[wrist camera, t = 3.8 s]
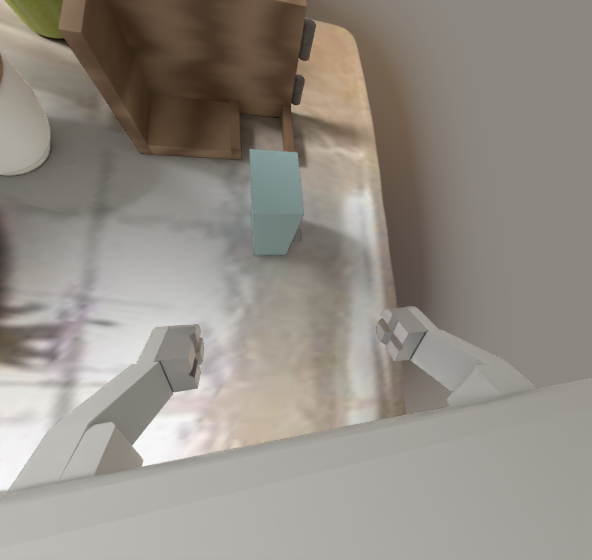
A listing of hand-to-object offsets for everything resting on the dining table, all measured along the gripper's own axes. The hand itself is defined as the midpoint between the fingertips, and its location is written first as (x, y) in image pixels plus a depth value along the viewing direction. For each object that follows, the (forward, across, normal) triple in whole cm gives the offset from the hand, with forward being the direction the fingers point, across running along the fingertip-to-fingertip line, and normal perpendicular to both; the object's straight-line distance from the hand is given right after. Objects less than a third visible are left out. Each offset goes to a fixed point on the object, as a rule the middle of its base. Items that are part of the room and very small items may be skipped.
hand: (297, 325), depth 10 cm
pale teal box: (+16, 0, +2) cm, 16 cm away
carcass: (+25, +4, -7) cm, 27 cm away
